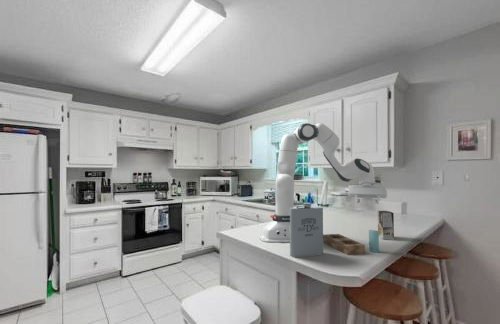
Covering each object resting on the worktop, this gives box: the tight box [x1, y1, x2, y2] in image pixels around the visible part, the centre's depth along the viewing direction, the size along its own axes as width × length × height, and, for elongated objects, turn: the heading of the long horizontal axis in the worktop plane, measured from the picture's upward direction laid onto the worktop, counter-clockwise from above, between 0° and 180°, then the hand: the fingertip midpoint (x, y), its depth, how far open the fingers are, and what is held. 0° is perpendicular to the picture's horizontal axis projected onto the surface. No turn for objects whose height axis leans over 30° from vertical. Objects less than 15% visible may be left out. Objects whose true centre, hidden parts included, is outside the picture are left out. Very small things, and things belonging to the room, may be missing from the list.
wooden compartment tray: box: [323, 233, 366, 255], centre depth 125 cm, size 10×22×4 cm, turn 13°
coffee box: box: [377, 210, 395, 241], centre depth 144 cm, size 9×6×16 cm
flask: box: [289, 202, 324, 258], centre depth 113 cm, size 17×5×25 cm, turn 107°
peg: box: [368, 229, 380, 253], centre depth 119 cm, size 4×4×10 cm
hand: (367, 202), depth 132 cm, fingers open, 8 cm apart
